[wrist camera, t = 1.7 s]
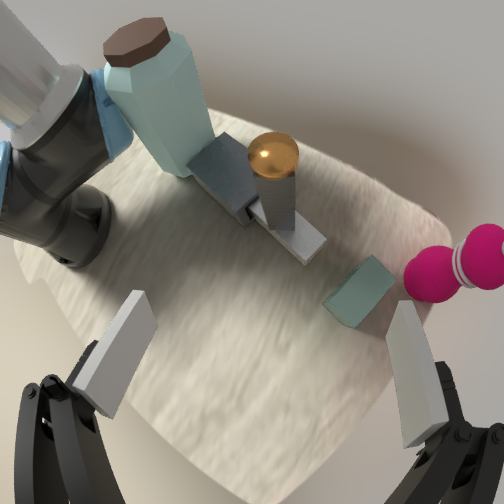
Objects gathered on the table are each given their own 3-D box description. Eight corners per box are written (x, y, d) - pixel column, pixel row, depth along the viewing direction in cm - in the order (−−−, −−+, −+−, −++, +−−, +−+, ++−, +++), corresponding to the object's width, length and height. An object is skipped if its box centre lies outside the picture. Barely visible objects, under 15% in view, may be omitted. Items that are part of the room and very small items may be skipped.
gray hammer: (210, 181, 39) (158, 100, 21) (232, 162, 39) (193, 73, 22) (302, 268, 34) (311, 223, 17) (325, 244, 34) (353, 181, 17)
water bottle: (184, 193, 40) (109, 83, 16) (149, 157, 42) (74, 54, 17) (232, 151, 41) (207, 20, 17) (193, 119, 43) (151, 3, 18)
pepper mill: (426, 244, 34) (512, 189, 14) (449, 285, 32) (545, 260, 12) (391, 271, 34) (475, 229, 14) (415, 314, 32) (512, 311, 13)
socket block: (321, 303, 34) (329, 302, 27) (357, 265, 35) (371, 254, 28) (342, 324, 33) (355, 328, 26) (377, 285, 34) (396, 279, 27)
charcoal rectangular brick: (200, 185, 41) (185, 165, 34) (234, 155, 41) (224, 131, 35) (245, 228, 38) (235, 212, 32) (280, 194, 38) (277, 173, 32)
